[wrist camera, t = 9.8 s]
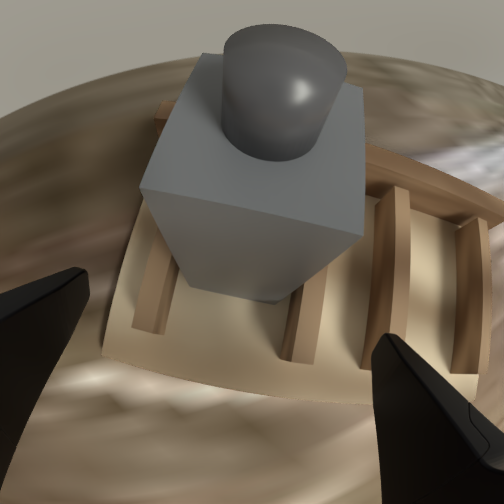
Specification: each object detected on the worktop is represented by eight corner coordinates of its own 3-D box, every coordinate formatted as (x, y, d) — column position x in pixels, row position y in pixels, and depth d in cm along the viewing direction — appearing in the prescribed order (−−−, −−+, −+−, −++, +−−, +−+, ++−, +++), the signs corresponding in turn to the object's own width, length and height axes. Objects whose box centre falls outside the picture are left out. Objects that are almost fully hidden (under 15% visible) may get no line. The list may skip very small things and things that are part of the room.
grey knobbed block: (274, 305, 16) (417, 189, 4) (189, 286, 16) (109, 121, 4) (288, 226, 17) (389, 35, 5) (209, 209, 17) (202, -7, 5)
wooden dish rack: (467, 400, 16) (512, 404, 11) (106, 354, 15) (68, 356, 10) (473, 221, 20) (509, 198, 16) (170, 141, 19) (161, 93, 15)
